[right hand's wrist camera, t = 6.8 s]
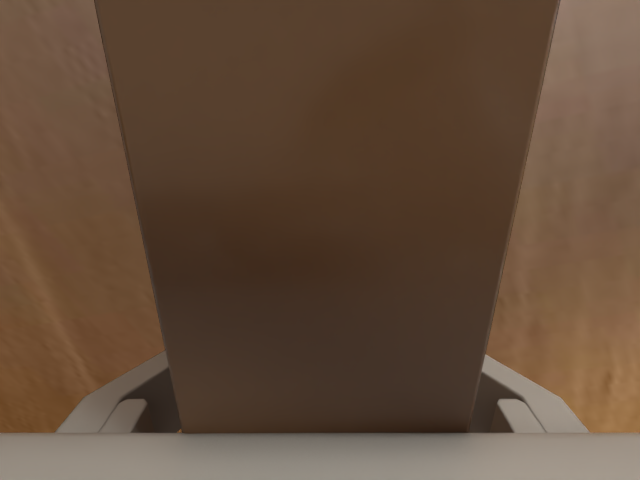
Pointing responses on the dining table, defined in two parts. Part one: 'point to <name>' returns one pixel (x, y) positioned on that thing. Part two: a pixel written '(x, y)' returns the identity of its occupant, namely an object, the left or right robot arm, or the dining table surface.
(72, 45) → the dining table surface
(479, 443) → the right robot arm
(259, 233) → the beam
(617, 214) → the dining table surface
